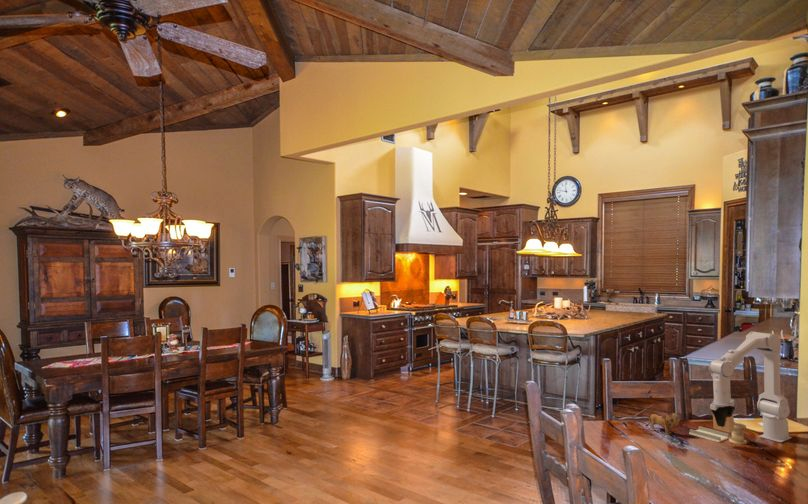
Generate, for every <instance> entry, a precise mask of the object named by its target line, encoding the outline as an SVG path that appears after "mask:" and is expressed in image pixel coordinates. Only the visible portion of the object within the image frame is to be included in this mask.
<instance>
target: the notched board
mask: <svg viewBox="0 0 808 504" xmlns="http://www.w3.org/2000/svg"><path fill="white" fill-rule="evenodd" d="M688 435H691V436H695V437H698V438H702V439H705V440H709V441H713V442H716V443H721V442H724V441H726V440H729V438H731V436H730V433H729V432H725V431H721V430H717V429H712V428H708V427H704V426H701V425H700V426H698V429H695V430H694V429H692V428H690V429H689V432H688Z"/></svg>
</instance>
